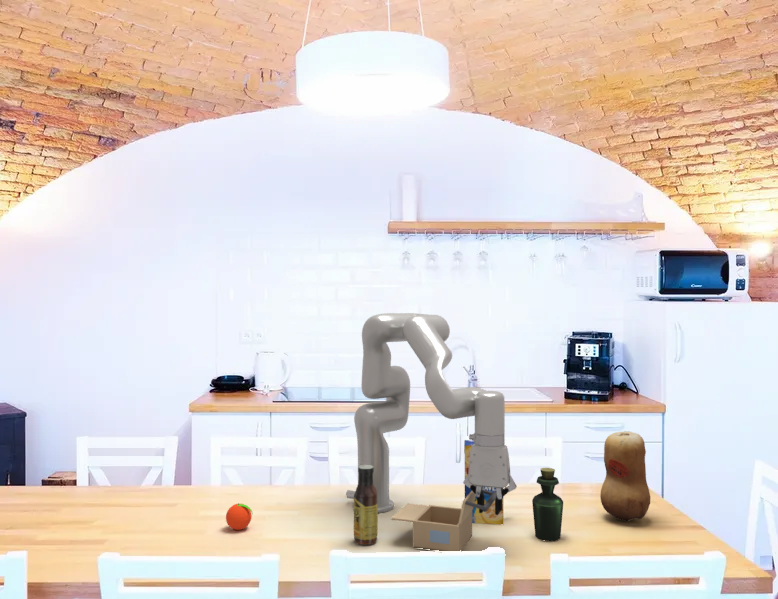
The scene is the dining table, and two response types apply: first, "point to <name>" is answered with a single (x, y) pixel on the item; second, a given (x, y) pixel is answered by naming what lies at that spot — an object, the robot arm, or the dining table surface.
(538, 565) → the dining table surface
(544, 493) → the potion bottle
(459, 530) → the carton
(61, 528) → the dining table surface
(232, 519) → the clementine
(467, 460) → the beverage box
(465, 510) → the flap
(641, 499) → the butternut squash
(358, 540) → the sauce bottle
